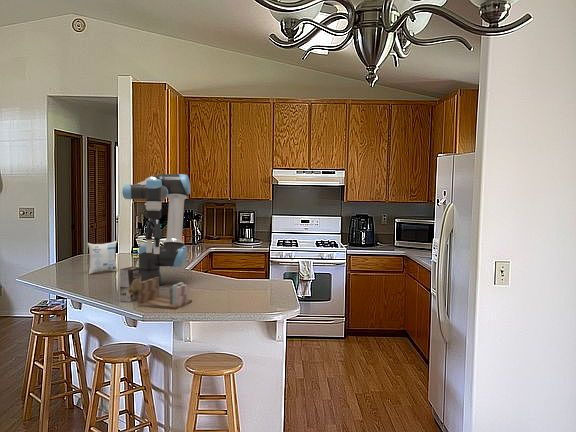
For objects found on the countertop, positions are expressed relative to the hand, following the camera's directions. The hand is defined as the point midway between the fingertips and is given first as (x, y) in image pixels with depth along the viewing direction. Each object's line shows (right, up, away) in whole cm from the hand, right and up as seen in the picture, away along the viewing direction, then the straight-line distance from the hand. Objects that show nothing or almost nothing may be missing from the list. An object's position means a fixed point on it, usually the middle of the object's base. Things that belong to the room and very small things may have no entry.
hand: (152, 253), depth 271 cm
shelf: (+7, -24, -4) cm, 26 cm away
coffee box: (-12, -24, +4) cm, 27 cm away
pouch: (-50, -18, +77) cm, 94 cm away
